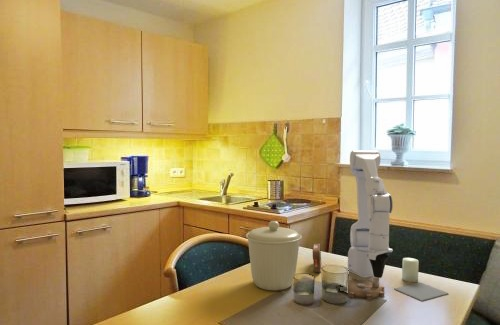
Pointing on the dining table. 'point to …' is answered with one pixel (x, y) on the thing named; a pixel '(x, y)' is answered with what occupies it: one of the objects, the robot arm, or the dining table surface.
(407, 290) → the slate mat
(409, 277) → the sage can
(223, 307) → the dining table surface
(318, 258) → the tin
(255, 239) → the canister
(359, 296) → the sprocket wheel
